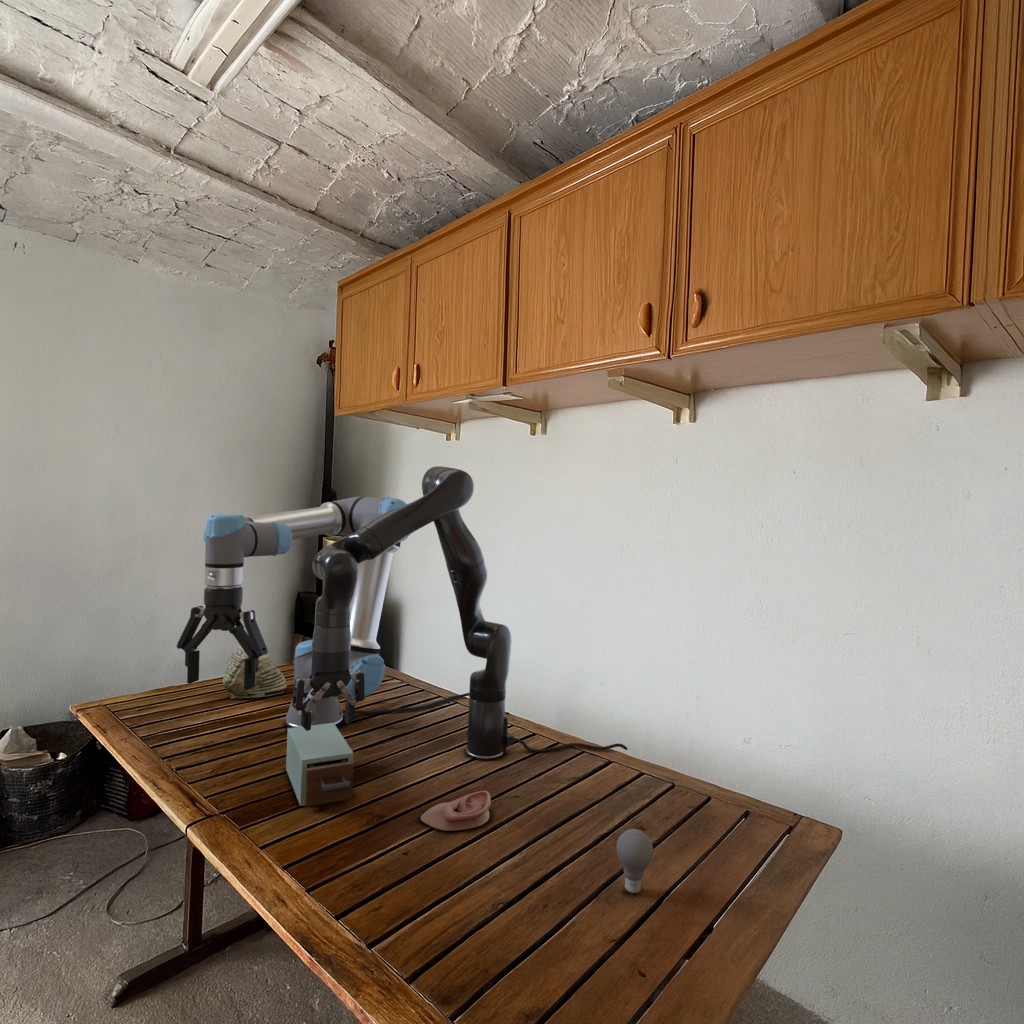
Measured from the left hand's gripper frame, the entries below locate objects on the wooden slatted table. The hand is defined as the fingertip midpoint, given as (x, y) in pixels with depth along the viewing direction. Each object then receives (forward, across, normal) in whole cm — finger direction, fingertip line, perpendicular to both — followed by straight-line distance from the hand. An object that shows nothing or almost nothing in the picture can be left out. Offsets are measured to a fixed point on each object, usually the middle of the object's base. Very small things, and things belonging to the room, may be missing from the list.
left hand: (220, 685), depth 136 cm
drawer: (+21, +23, +3) cm, 31 cm away
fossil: (+22, -29, +57) cm, 68 cm away
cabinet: (+22, +19, +8) cm, 30 cm away
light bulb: (+22, +88, -14) cm, 92 cm away
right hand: (+5, +26, -2) cm, 27 cm away
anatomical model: (+22, +53, +1) cm, 57 cm away
